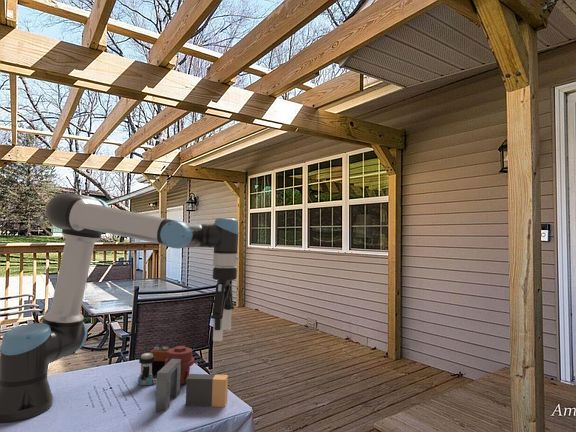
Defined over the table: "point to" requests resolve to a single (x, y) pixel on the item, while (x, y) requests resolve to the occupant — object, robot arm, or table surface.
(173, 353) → the mechanical component
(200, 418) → the table surface
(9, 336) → the robot arm
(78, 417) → the table surface
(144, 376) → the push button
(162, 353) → the battery
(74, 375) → the table surface
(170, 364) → the grey piece
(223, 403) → the grey and orange block
